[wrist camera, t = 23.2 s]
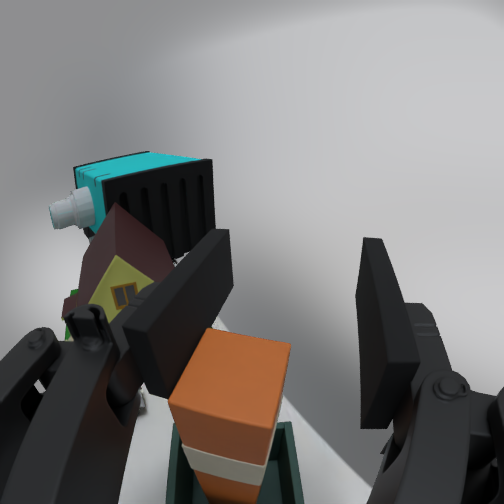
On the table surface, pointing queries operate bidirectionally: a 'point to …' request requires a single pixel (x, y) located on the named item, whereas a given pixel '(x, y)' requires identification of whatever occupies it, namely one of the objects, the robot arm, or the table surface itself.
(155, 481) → the table surface
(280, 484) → the open box
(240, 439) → the block
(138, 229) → the house model
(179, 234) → the electronic device
